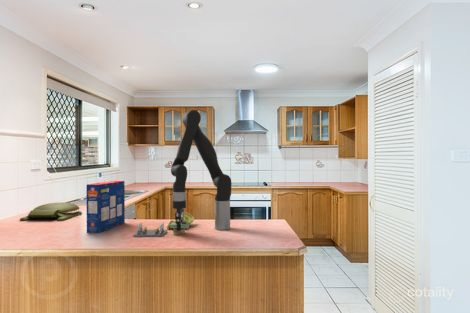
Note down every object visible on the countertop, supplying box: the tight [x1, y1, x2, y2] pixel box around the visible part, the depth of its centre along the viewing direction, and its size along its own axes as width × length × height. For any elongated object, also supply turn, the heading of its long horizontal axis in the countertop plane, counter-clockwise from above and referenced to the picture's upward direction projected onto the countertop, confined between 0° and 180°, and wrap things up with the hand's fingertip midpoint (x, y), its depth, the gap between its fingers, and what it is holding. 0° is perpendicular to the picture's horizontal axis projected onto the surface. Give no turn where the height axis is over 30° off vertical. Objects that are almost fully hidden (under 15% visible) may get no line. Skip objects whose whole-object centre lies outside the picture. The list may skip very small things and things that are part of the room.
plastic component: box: [166, 211, 195, 230], centre depth 204 cm, size 20×7×10 cm
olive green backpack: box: [19, 202, 83, 222], centre depth 239 cm, size 35×31×10 cm
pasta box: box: [86, 180, 126, 234], centre depth 202 cm, size 28×8×28 cm, turn 169°
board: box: [170, 222, 190, 229], centre depth 185 cm, size 10×6×3 cm, turn 90°
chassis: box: [132, 222, 168, 238], centre depth 184 cm, size 16×12×6 cm
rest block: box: [172, 228, 186, 236], centre depth 185 cm, size 6×4×3 cm, turn 89°
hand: (179, 229), depth 185 cm, fingers closed on board, 6 cm apart
